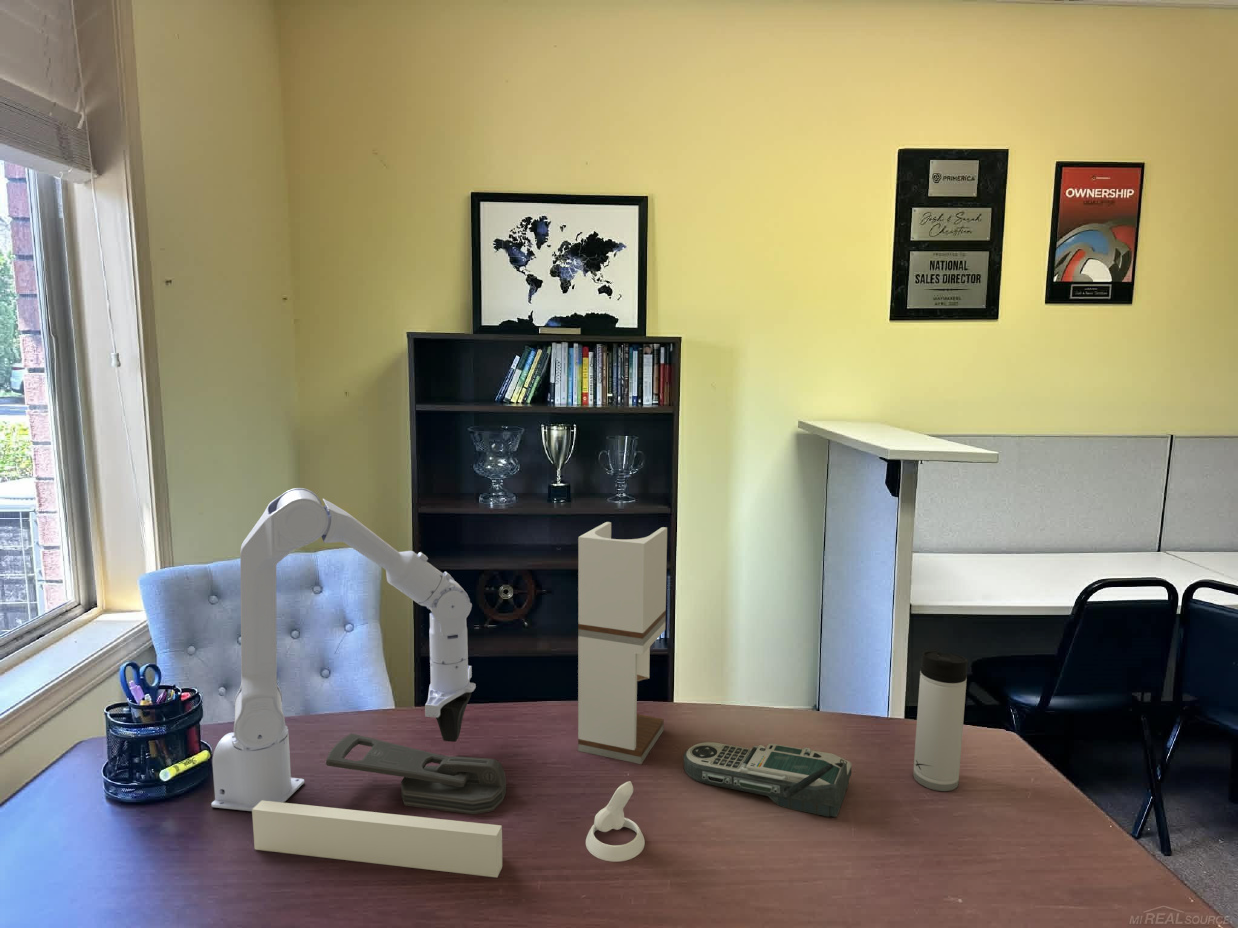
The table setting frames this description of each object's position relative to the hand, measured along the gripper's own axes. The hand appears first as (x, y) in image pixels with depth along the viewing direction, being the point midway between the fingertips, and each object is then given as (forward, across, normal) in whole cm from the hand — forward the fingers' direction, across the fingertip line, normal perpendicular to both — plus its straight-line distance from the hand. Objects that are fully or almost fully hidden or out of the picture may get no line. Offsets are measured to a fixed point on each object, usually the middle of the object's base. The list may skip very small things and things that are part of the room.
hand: (450, 739), depth 119 cm
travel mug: (+3, +4, -74) cm, 74 cm away
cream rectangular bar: (+2, -24, 0) cm, 25 cm away
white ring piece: (+3, -17, -29) cm, 34 cm away
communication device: (+3, 0, -48) cm, 48 cm away
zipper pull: (+3, -11, +1) cm, 11 cm away
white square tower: (+3, +9, -26) cm, 28 cm away
